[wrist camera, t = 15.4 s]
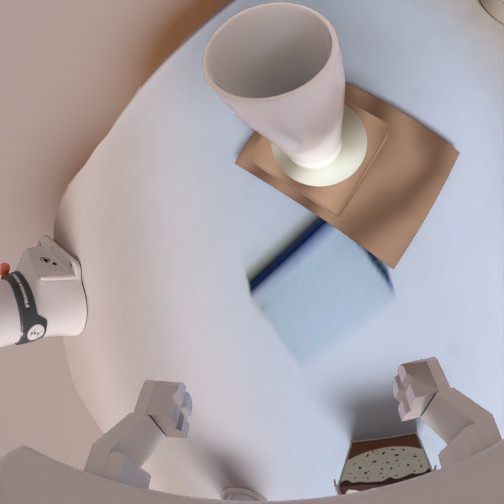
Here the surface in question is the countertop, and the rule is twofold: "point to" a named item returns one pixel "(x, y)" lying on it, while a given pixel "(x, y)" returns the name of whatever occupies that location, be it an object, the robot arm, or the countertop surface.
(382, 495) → the robot arm
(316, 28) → the drinking glass
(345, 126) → the walnut display stand
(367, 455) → the food container
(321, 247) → the countertop surface
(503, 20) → the travel mug
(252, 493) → the french press
